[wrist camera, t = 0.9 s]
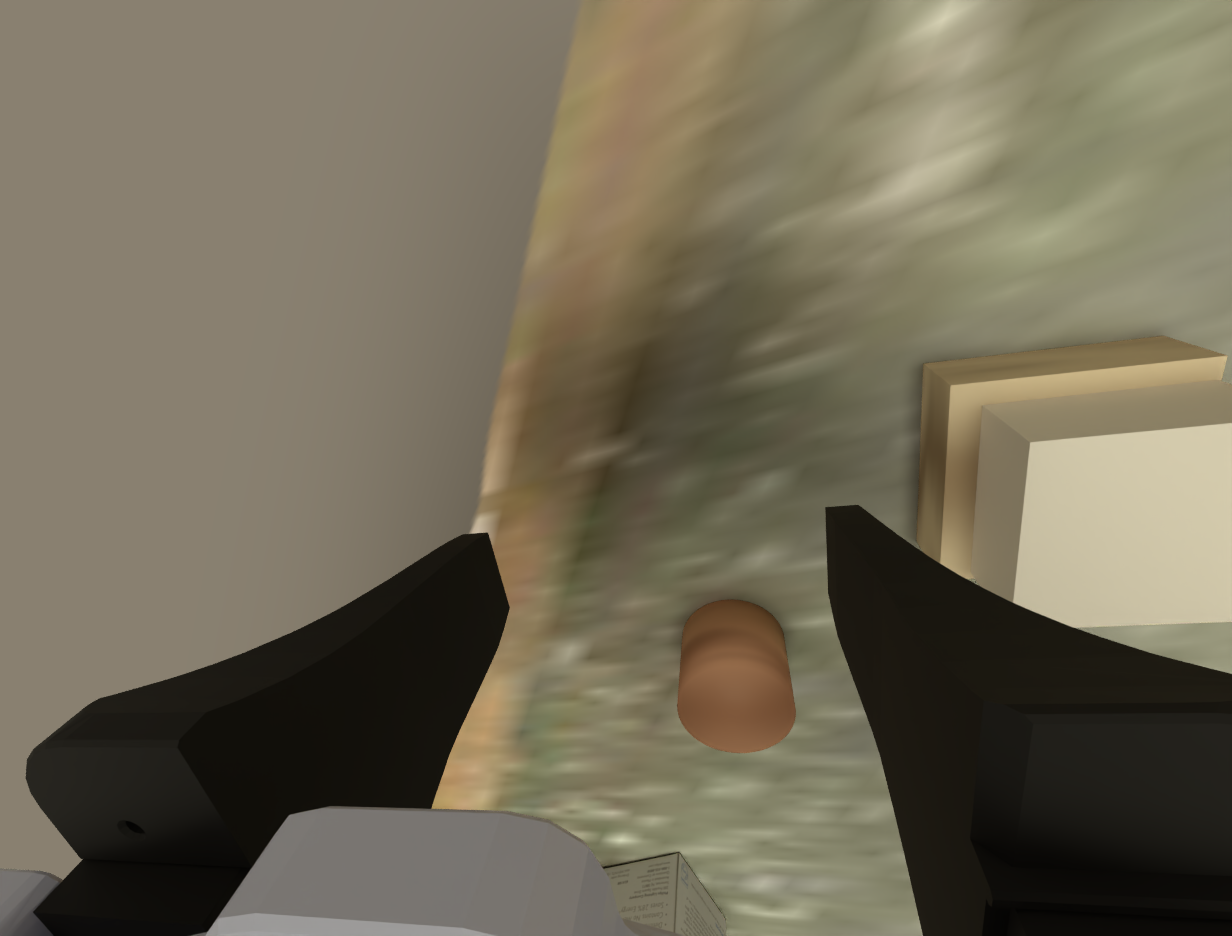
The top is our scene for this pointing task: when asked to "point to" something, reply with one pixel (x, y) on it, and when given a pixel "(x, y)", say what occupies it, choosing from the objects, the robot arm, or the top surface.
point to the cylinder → (735, 678)
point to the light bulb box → (665, 897)
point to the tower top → (1109, 505)
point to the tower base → (1009, 378)
